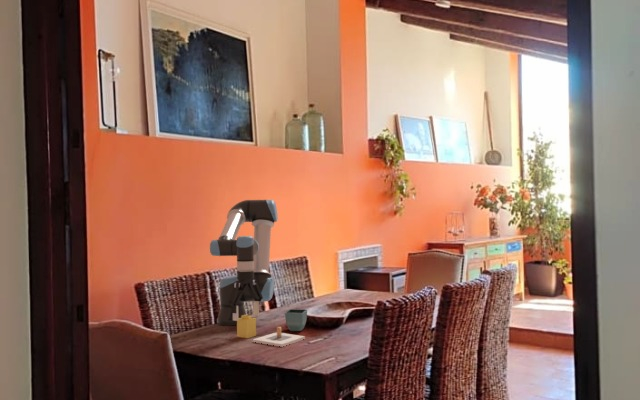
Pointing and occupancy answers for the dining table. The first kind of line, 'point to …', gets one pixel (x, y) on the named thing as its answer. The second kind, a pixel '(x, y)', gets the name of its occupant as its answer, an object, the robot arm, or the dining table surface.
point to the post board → (279, 338)
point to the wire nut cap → (246, 326)
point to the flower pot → (296, 319)
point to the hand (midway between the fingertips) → (246, 318)
